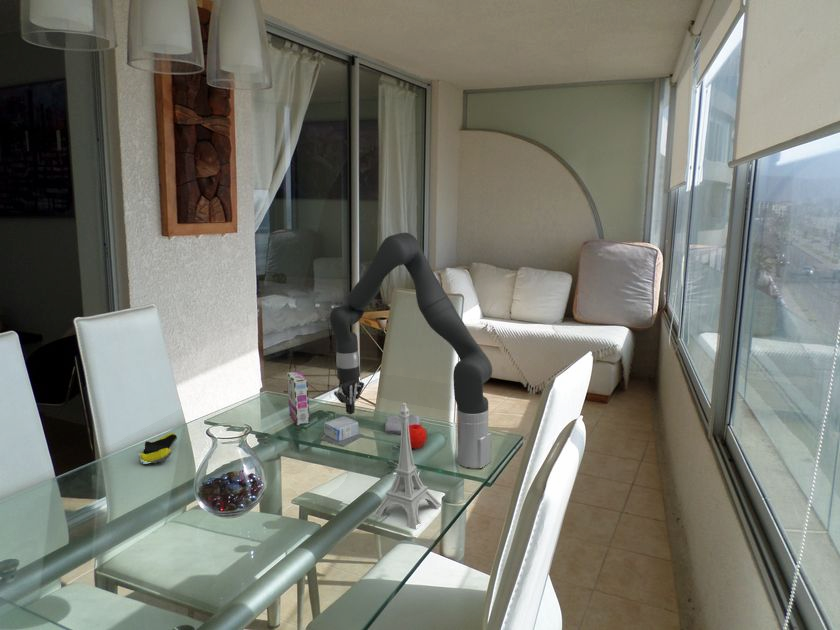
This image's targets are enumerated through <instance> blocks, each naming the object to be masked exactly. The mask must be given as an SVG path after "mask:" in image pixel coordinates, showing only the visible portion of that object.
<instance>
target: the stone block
mask: <svg viewBox="0 0 840 630" xmlns="http://www.w3.org/2000/svg"><path fill="white" fill-rule="evenodd" d="M408 422H409V425H414V424H418V425H421V417H420V416H418V415H417V414H410V416H409V418H408ZM384 430H385V433H386V432H388V433H387V434H393V433H396V434H395V435H400V434H401V418H400V417H399V416H396V415H390V416H388V417H387V418H386V422H385V425H384Z"/></svg>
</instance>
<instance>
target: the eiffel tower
mask: <svg viewBox="0 0 840 630" xmlns="http://www.w3.org/2000/svg"><path fill="white" fill-rule="evenodd" d="M410 415H411V414H410V409H409V408H408V406H407V403H406V402H402V405H401V408H400V409H399V416H398V417H400V418H401V435H400V442H399V443H400V445H399V457H398V465H397V468H395V472H396V474H395V476H394V477H395V478H394V480H393V482H392V484H391V488H389V490H387V491H386V492H385V495H386V497H385V498H384V499H383V500H382V502H381V503H380V504H379V506H378V508H376V510H375V511H374V512H373V514H371V516H372V517H375V518H377V519H382V518H384V517H385V516H386V515H387V512H386V511H387V510H388V508H389V506H391V505H393V504H395V505H399V506H401V507H402V508H403V509H404V510H405V512H406V515H407V518H408V519H407V520H408V522H407V524H408V525H407V526H406V527H407V528H410V529H413V530H417V529H416V525H418V524H421V520H420V517H419V506H420V504H421V501H423V500H424V501H426V502H427V503H428V506H427V507H428V508H431V509H434V510H439V508H441V507H442V506H443V504H442V503H441V502H439V501H438V499H437V498H436V497H435V496H434V495H433V494H432V493H430V491H429V490H428V486H427V485H424V484H423V483H422V480H421V478H420V476H419V474H418V472H417V468H418V465H417V466H416V465H415V461H414V456H413V449H412V448H411V443H410V434H409V422H408V418H409V416H410Z"/></svg>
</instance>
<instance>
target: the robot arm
mask: <svg viewBox="0 0 840 630" xmlns="http://www.w3.org/2000/svg"><path fill="white" fill-rule="evenodd" d="M376 251H377V252H376V253H375V256H374V257H373V258H372V260H371V262H370V263H369V266H368V268H367V269H366V271H365V272H364V274H363V276H362V277H360V279H359V280H358V282H357V283H356V284H355V285H354V287H353V288H352V289H351V291H350V292H349V293H348V294H347V302H346V303H345V304H341V305H338V306H336V307H333V309H332V310H331V312H330V315H329V322H330V323H329V324H330V326H331V330H332V333H333V335H334V338H335V344H336V345H335V346H336V347H335V349H336V354H335V355H336V356H335V358H336V362H335V364H336V377H337V379H338V381H339V382H338V389H337V390H335V391H334V392H333V395H334V396H335V397H336V398H337V399H338V401H339V402H340V403H342V404H344V405H345V412H346V414H348V415H353V414H355V411H356V407H355V403H356V401H357V400H359V398H360V397H361V394H362V391H363V389H364V387H365V383H364V382H362V381H360V377H361V368H360V367H361V366H360V353H359V344H358V343H359V342H358V336H357V334H356V333H355V332H351V331H350V329H349V327H350V326H353V325H355V324H357V323H358V322H359V321H361V319H362V318H363V316H364V314H365V313H366V310H367V307H368V306H369V305H370V303H372V301H374V299H375V298H376V296H377V295H378V293H379V292H380V290H381V287H382V285H383V282H384V280H385V278H386V277H387V276H388V275H389V274H390V273H391V271H394V269H395V268H397V267H399V266H404V267H405V268H406V270H407V272H408V274H409V275H410V277H411V279H412V281H413V285H414V287H415V288H414V289H415V297H416V298H415V299H416V303H417V306H418V309H419V311H420V312H421V314H422V316H423V318H424V319H425V321H426V323H427V324H428V325H429V327H430V328H431V329H432V331H434V332H435V333H436V334H437V335H438V336H440V337H441V338H443V340H445V341H446V342H447V343H448V344H449V345H450V346H451V347H452V348H453V349H454V351H455V353H456V355H457V356H458V358H459V361H458V362H457V363H456V364H455V366H454V368H453V376H452V377H453V395H454V400H455V403H456V407H457V408H456V411H457V413H456V414H457V415H456V416H457V417H456V418H457V419H456V421H457V429H456V430H457V463H458V464H459V465H460V464H461V465H462V466H461V465H460V466H461V467H463V466H466V467H471V468H470V469H478V468H482V467H483V468H484V466H485V465H486V466H487V465H489V464H490V463H491V462H492V432H491V431H489V400H488V398H487V397H486V396H484V385H483V384H485V383H486V382H487V381H488V380H489V379H491V377H492V374H493V365H492V363H491V360H490V359H489V357H488V356H487V355H486V353H485V351H483V349H482V348H481V346H480V345H479V344H478V343H477V341H476V340H475V338H474V337H473V336H472V334H471V333H470V331H469V330H468V328H467V326H466V325H465V323H464V321H463V320H462V318H461V316H460V315H459V313H458V311H457V310H456V308H455V306H454V304H453V302H452V301H451V299H450V297H449V296H448V294H447V293H446V291H445V289H444V288H443V287H442V285H441V283H440V281H439V279H438V278H437V276H436V274H435V273H434V271H433V269H432V267H431V266H430V263H429V261H428V260H427V257H426V255H425V253H424V251H423V248H422V247H421V245H420V243H419V241H418V239H417V238H416V237H415V236H414V235H413V234H412V233H409V232H401V233H396V234H392V235H389V236H387V237H386V238H385V239H384V240H383V241H382V243H381V244H380V246H379V247H378V249H377V250H376ZM488 463H489V464H488ZM486 466H485V467H486ZM466 467H465V468H466ZM483 468H482V469H483Z"/></svg>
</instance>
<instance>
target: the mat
mask: <svg viewBox="0 0 840 630" xmlns="http://www.w3.org/2000/svg"><path fill="white" fill-rule="evenodd" d="M361 436H362V437H364V434H363V433H359V434H357V435H355V436H352V437H349V438H346V439H344V440H341V441H337V440H335V439H333V438H331V437H329V436H327V435H325V436H323V437H321V438H320V440H321V441H324V442H326V441H327V443H330V442H332V443H331V444H333V443H335V444H334V445H336V444H338V445H337V446H339V445H340V447H342V446H344V447H345V445H346V444H347V445H349V444H351V443H352V442H351V441H353V440H355V439H357V438H359V437H360V438H362V437H361ZM360 438H359V439H360ZM357 440H358V439H357ZM355 441H356V440H355ZM350 442H351V443H350ZM353 442H354V441H353ZM348 443H349V444H348ZM347 445H346V446H347Z"/></svg>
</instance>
